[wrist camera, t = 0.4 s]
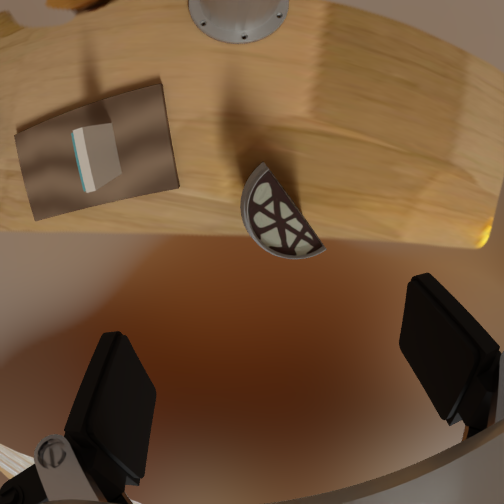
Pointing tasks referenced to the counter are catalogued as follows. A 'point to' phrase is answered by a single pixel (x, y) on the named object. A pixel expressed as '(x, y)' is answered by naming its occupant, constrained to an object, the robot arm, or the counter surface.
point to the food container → (276, 218)
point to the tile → (96, 155)
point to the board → (128, 148)
